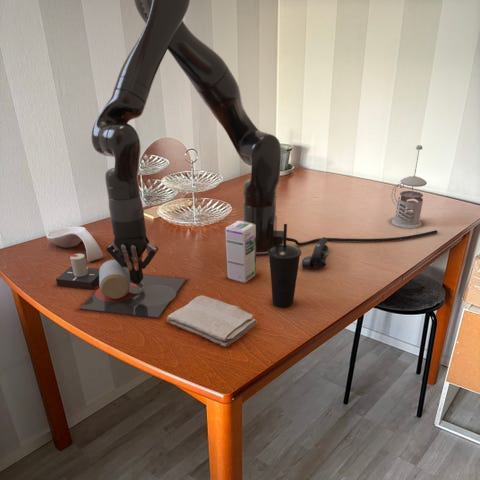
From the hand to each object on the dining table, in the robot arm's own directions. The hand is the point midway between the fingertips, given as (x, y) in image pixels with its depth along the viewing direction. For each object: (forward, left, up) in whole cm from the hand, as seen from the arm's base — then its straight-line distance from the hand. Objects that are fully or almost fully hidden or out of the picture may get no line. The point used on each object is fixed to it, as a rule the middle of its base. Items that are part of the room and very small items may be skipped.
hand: (137, 282), depth 122 cm
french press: (-67, -66, -4) cm, 94 cm away
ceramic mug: (+4, 0, -4) cm, 6 cm away
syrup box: (-23, -15, -4) cm, 28 cm away
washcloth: (-22, +10, -4) cm, 24 cm away
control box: (+18, -4, -4) cm, 19 cm away
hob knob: (+18, -4, -2) cm, 19 cm away
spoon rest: (+30, -23, -4) cm, 38 cm away
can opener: (-42, -30, -4) cm, 52 cm away
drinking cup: (-36, -3, -4) cm, 36 cm away
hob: (+1, 0, -4) cm, 4 cm away
